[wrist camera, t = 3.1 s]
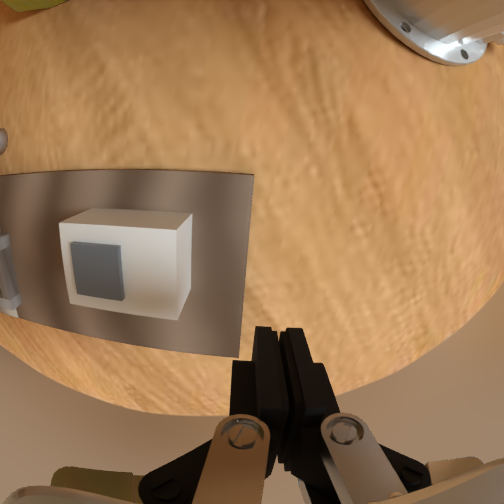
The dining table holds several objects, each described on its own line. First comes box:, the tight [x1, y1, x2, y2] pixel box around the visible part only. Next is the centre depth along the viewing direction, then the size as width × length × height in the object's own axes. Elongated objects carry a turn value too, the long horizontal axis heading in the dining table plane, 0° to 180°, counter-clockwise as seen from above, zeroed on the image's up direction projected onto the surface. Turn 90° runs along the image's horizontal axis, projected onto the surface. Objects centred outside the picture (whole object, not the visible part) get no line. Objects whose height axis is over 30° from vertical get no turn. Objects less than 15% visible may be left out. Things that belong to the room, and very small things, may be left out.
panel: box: [0, 169, 254, 358], centre depth 18 cm, size 29×13×3 cm, turn 85°
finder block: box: [59, 208, 192, 320], centre depth 16 cm, size 7×5×4 cm
